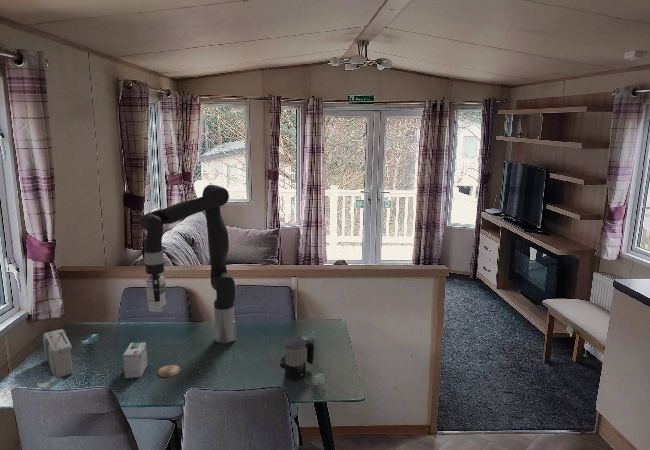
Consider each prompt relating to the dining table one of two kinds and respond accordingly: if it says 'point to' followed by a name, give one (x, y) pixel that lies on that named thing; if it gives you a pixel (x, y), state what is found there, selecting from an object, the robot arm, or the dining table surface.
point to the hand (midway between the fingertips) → (157, 297)
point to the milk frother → (297, 358)
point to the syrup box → (151, 303)
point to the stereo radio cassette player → (58, 352)
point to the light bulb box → (135, 360)
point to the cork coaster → (168, 371)
